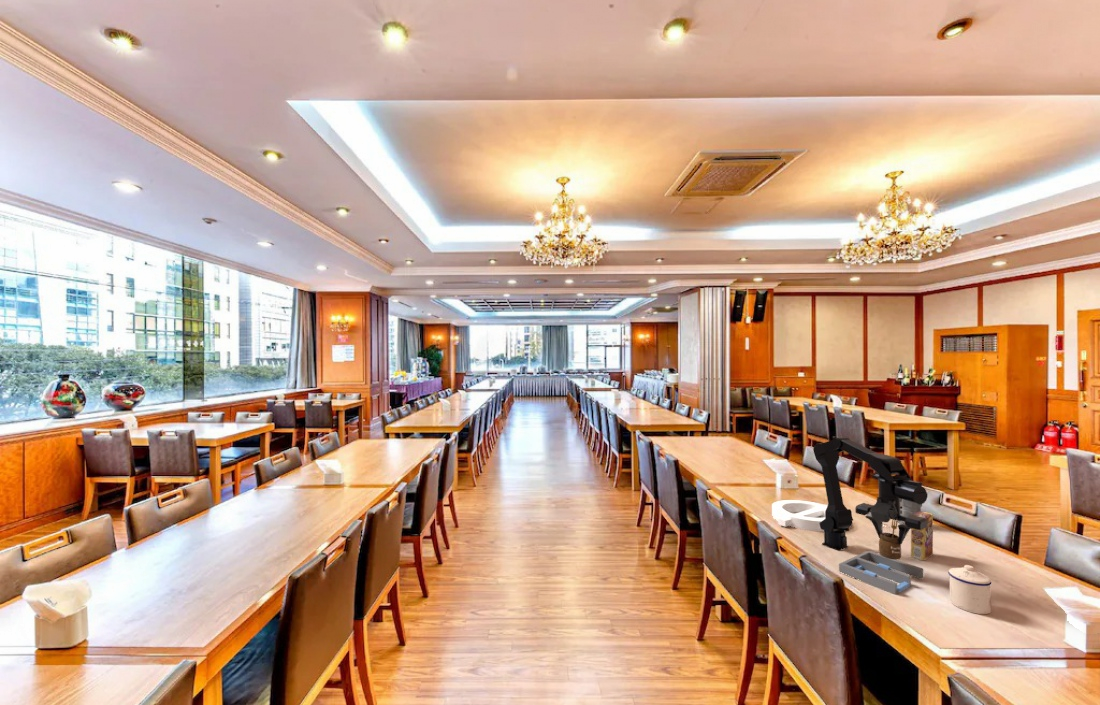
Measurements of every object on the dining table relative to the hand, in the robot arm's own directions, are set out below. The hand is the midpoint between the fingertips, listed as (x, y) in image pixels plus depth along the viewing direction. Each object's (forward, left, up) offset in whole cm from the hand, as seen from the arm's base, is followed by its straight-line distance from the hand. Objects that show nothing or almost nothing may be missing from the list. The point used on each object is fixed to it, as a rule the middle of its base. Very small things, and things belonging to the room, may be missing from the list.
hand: (890, 541), depth 147 cm
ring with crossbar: (-43, +25, -11) cm, 51 cm away
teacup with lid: (+20, -3, -11) cm, 23 cm away
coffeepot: (-16, +56, -11) cm, 60 cm away
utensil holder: (0, 0, -5) cm, 5 cm away
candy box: (0, +24, -11) cm, 27 cm away
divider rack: (0, -5, -11) cm, 12 cm away
